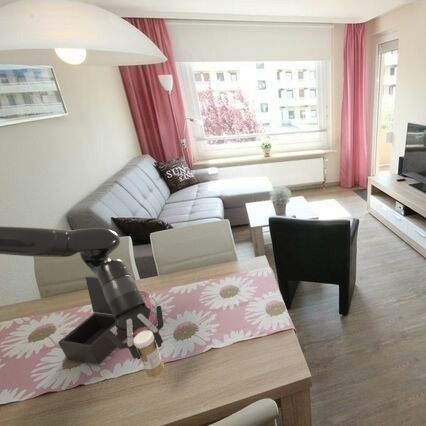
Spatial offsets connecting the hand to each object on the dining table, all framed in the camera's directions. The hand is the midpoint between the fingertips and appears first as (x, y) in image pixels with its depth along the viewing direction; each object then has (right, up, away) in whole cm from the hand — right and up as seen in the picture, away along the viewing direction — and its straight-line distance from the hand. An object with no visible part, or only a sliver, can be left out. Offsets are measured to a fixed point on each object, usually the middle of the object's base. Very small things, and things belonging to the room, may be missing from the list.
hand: (149, 352), depth 78 cm
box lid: (-34, +6, +29) cm, 45 cm away
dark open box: (-35, -11, +29) cm, 46 cm away
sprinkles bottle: (-1, -8, +5) cm, 9 cm away
